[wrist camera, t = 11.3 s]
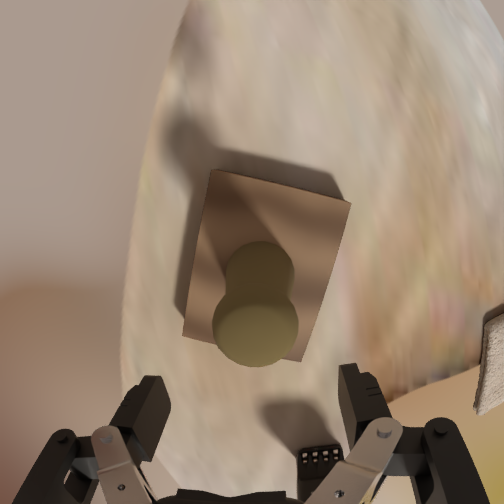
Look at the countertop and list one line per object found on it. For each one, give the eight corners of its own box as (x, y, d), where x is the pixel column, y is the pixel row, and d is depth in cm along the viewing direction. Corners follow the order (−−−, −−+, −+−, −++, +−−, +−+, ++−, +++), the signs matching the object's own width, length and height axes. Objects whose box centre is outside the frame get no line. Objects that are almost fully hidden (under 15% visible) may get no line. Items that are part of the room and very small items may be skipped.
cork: (243, 229, 27) (224, 271, 16) (306, 259, 27) (328, 317, 16) (215, 289, 28) (185, 358, 18) (275, 316, 28) (277, 394, 18)
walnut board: (216, 169, 28) (211, 169, 25) (344, 200, 28) (351, 203, 25) (187, 324, 32) (182, 335, 30) (299, 348, 32) (300, 362, 30)
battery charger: (344, 439, 36) (358, 504, 25) (342, 454, 37) (354, 516, 26) (294, 445, 36) (297, 512, 25) (294, 460, 37) (297, 524, 26)
